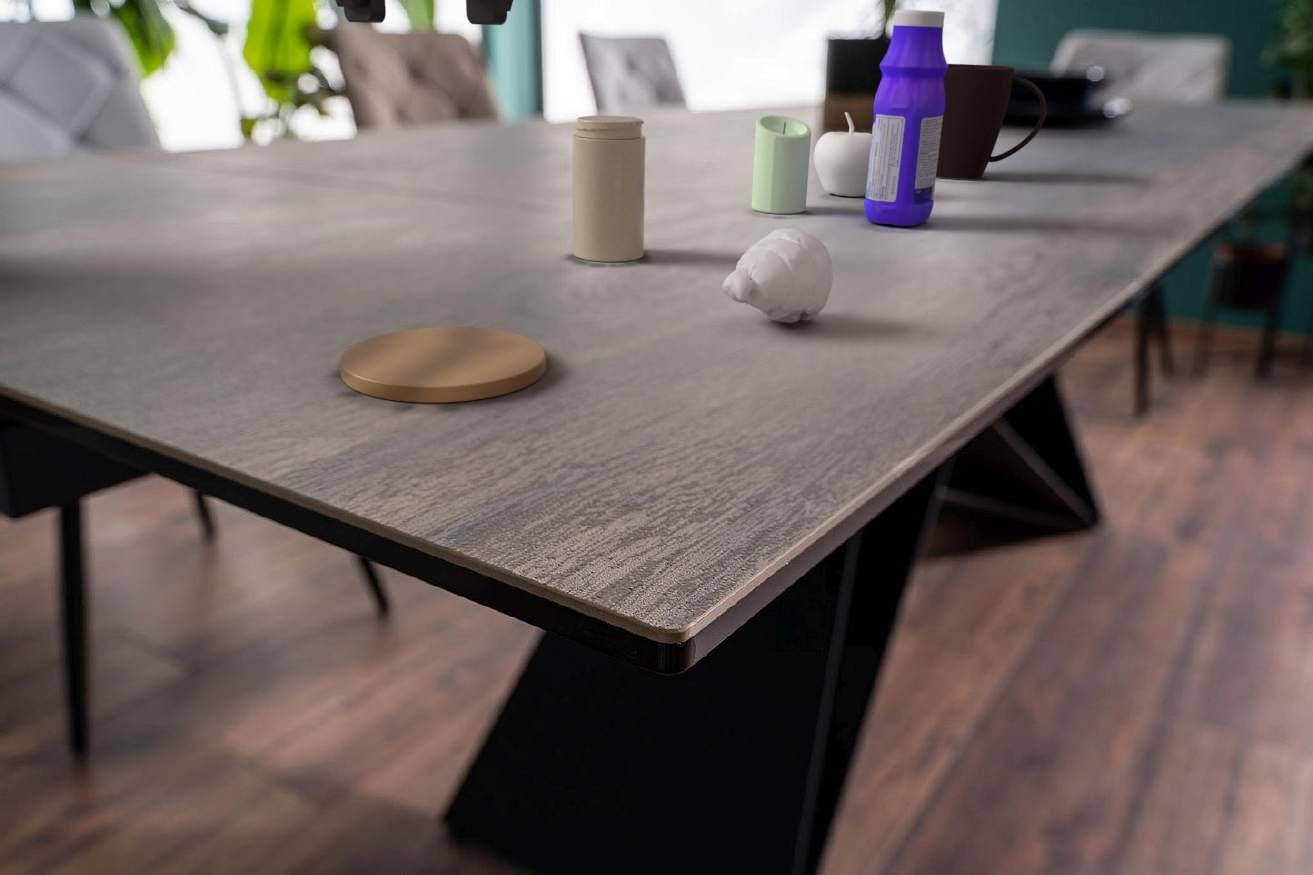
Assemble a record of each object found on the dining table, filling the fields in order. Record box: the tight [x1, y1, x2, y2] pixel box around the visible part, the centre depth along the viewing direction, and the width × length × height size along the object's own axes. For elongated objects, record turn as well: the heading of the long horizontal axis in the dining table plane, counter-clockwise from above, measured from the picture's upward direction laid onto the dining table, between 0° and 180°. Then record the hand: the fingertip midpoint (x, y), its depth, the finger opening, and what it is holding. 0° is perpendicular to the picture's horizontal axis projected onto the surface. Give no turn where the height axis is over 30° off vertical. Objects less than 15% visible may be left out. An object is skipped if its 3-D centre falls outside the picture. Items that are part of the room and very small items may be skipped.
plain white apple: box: [813, 111, 872, 198], centre depth 108 cm, size 7×7×8 cm
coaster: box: [339, 326, 547, 404], centre depth 54 cm, size 10×10×1 cm
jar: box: [572, 115, 647, 263], centre depth 78 cm, size 5×5×10 cm
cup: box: [936, 63, 1047, 181], centre depth 121 cm, size 10×14×12 cm
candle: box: [750, 114, 812, 215], centre depth 98 cm, size 5×5×8 cm
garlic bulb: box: [722, 227, 834, 324], centre depth 62 cm, size 6×6×5 cm
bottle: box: [863, 9, 949, 227], centre depth 92 cm, size 7×6×17 cm
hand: (429, 21), depth 48 cm, fingers closed on lid, 5 cm apart
